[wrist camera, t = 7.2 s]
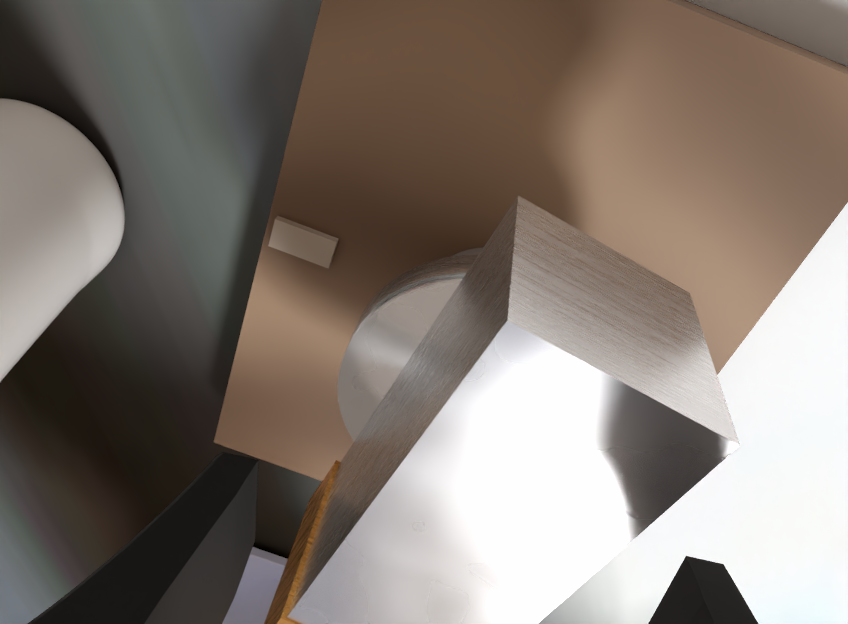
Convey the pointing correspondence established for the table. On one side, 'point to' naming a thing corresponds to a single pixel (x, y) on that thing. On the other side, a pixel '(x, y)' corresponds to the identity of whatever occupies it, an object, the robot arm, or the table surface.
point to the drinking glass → (49, 221)
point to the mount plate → (527, 174)
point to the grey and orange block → (504, 433)
